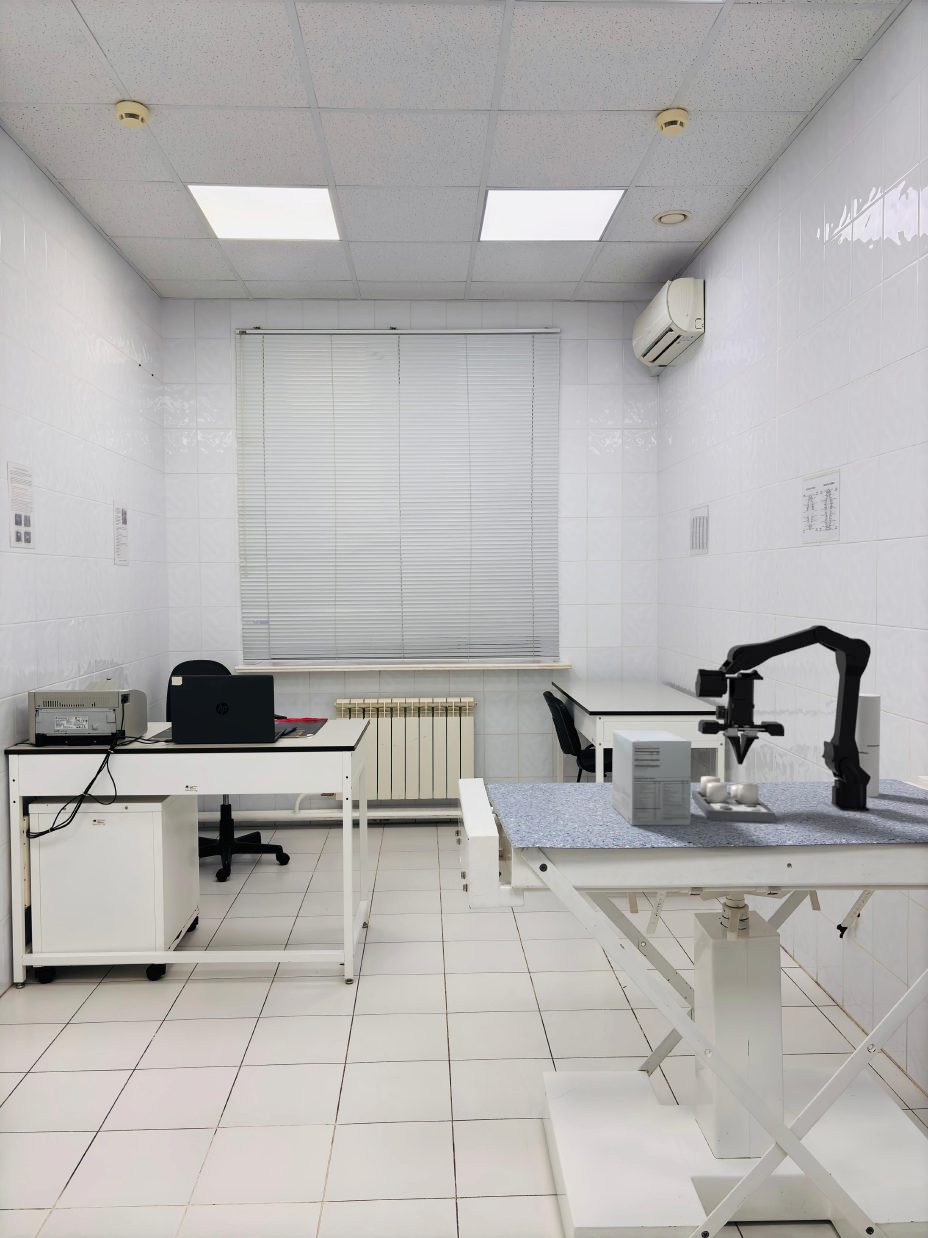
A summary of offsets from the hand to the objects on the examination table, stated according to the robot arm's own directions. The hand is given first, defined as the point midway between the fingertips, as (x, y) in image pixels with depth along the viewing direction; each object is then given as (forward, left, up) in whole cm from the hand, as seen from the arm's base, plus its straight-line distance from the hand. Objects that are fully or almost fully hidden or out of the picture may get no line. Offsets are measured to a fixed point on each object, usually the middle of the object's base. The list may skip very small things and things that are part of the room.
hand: (739, 764), depth 191 cm
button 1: (+7, 0, -8) cm, 10 cm away
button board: (+3, +6, -10) cm, 12 cm away
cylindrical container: (-34, -16, -10) cm, 39 cm away
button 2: (+7, +7, -7) cm, 12 cm away
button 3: (0, 0, -9) cm, 9 cm away
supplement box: (+23, +14, -10) cm, 28 cm away
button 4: (0, +7, -8) cm, 10 cm away
